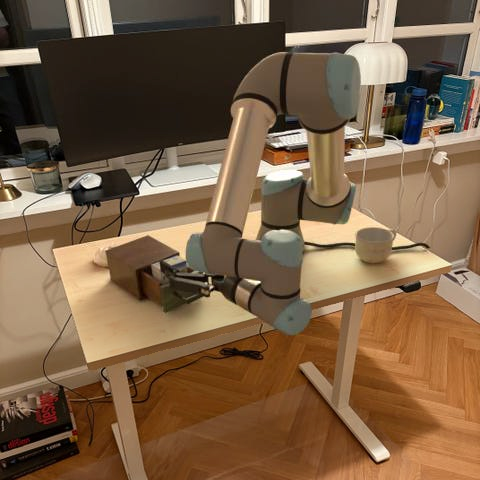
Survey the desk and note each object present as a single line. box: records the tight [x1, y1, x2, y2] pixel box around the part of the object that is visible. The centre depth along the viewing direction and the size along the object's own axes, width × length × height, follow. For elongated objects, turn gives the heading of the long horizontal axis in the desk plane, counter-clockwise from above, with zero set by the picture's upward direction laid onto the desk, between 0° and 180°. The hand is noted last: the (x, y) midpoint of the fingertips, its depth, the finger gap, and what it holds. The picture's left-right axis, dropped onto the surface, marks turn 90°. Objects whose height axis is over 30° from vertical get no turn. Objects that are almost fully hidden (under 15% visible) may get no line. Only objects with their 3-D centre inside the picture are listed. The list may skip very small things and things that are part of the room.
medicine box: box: [151, 255, 188, 285], centre depth 125 cm, size 8×4×9 cm, turn 129°
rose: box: [93, 245, 117, 268], centre depth 145 cm, size 10×4×10 cm
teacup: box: [354, 227, 397, 264], centre depth 143 cm, size 14×11×8 cm
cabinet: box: [105, 234, 181, 302], centre depth 133 cm, size 15×14×9 cm
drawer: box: [139, 264, 205, 314], centre depth 125 cm, size 20×13×7 cm, turn 43°
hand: (184, 256), depth 115 cm, fingers open, 13 cm apart
